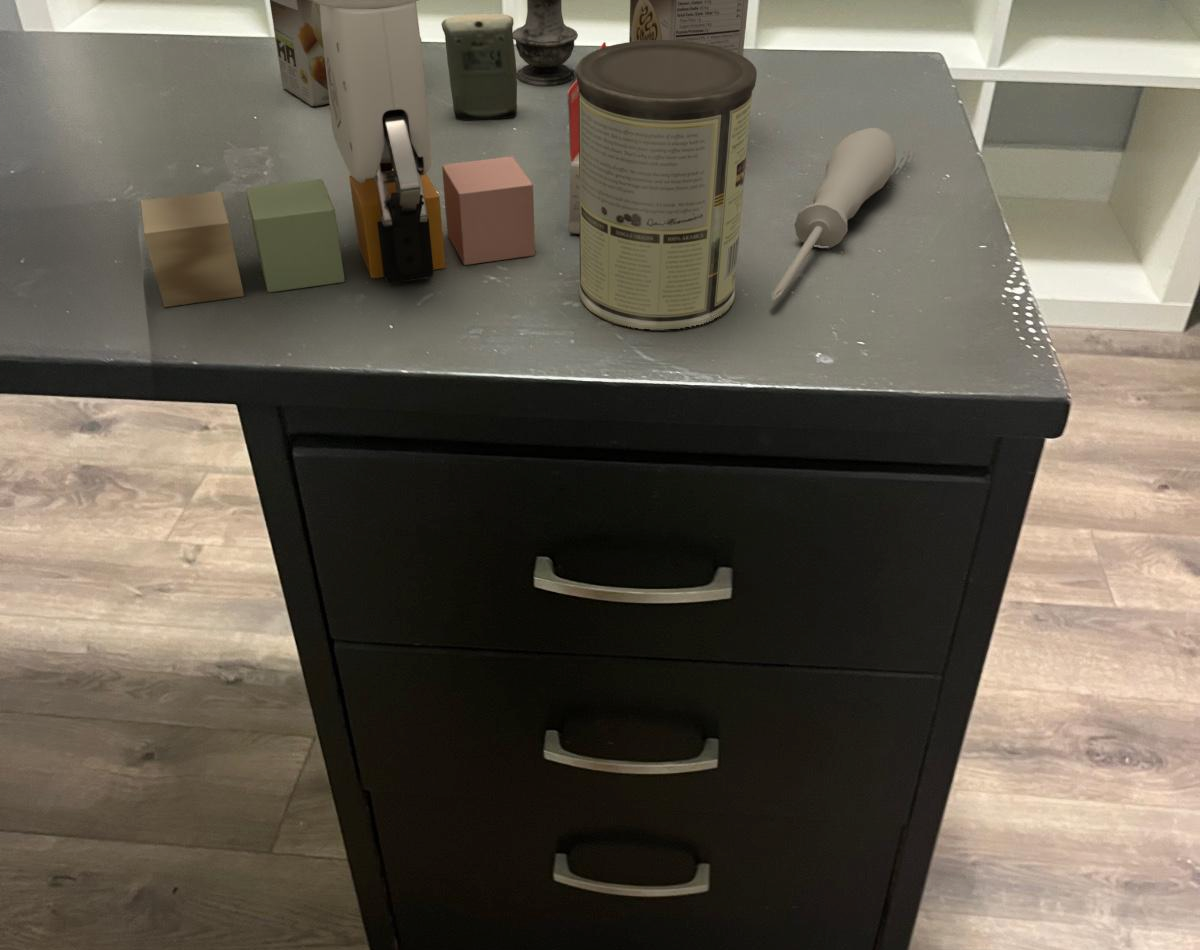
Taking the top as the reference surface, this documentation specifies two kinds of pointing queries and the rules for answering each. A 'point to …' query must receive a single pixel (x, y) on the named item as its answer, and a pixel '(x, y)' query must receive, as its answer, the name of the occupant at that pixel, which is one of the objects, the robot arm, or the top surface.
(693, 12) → the coffee box
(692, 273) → the coffee can
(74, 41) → the top surface
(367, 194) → the orange block
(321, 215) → the row block
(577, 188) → the ink cartridge box
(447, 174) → the row block
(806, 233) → the screwdriver
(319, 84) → the coffee box
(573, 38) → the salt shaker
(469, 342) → the top surface
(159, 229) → the row block
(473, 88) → the grey upright labelled block
